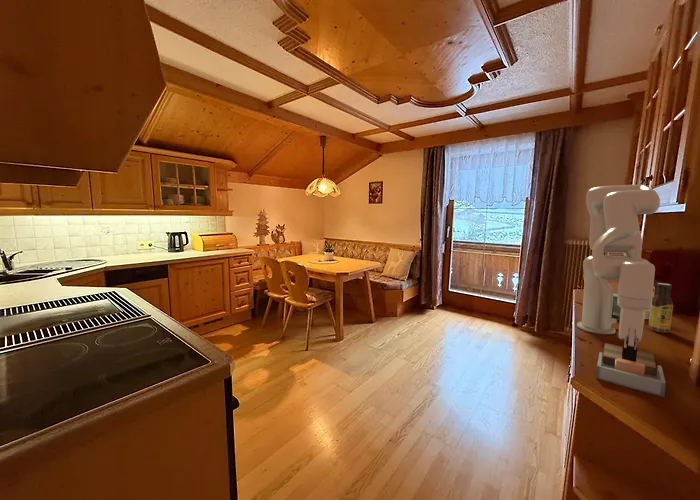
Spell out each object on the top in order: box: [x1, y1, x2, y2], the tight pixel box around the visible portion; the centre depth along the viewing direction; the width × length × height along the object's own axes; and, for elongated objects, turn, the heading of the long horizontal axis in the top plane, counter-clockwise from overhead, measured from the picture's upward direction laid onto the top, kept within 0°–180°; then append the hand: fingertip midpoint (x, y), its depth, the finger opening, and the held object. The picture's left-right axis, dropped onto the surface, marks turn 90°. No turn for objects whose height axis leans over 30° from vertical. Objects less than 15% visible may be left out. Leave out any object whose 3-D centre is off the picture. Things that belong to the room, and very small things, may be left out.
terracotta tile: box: [616, 358, 645, 377], centre depth 87 cm, size 5×6×2 cm
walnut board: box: [602, 342, 657, 376], centre depth 97 cm, size 13×12×3 cm
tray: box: [595, 351, 667, 398], centre depth 88 cm, size 12×14×4 cm
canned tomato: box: [611, 292, 621, 321], centre depth 139 cm, size 8×8×11 cm
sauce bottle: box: [648, 282, 674, 334], centre depth 122 cm, size 6×6×20 cm
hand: (628, 359), depth 91 cm, fingers closed
